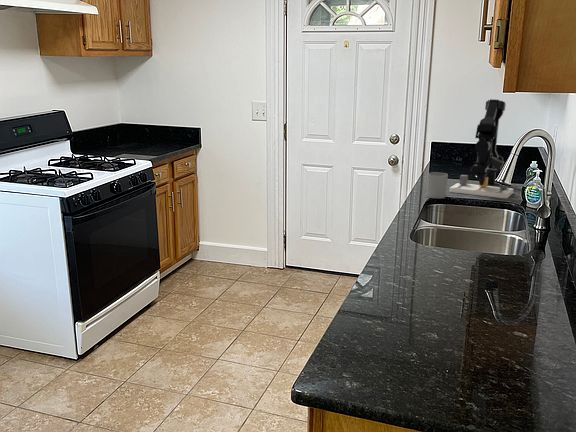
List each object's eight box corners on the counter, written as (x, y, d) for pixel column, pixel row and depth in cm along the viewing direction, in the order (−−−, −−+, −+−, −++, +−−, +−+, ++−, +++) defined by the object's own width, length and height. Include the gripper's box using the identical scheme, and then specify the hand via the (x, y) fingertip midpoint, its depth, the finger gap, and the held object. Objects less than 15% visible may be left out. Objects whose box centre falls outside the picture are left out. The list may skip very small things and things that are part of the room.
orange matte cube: (480, 185, 255) (481, 176, 254) (487, 185, 253) (488, 177, 252) (479, 186, 252) (479, 177, 251) (485, 187, 251) (486, 178, 250)
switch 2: (501, 187, 250) (501, 178, 249) (508, 188, 248) (508, 179, 247) (499, 188, 248) (500, 179, 247) (506, 189, 246) (507, 180, 245)
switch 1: (461, 183, 260) (461, 174, 259) (467, 183, 258) (468, 175, 257) (459, 184, 257) (460, 175, 256) (465, 184, 256) (466, 176, 254)
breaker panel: (457, 186, 263) (458, 182, 262) (513, 193, 250) (513, 188, 249) (449, 191, 252) (449, 187, 252) (506, 198, 239) (507, 193, 239)
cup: (447, 195, 246) (449, 173, 243) (444, 199, 238) (446, 176, 236) (428, 193, 249) (430, 171, 246) (424, 197, 242) (426, 174, 239)
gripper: (498, 154, 234) (495, 190, 238) (508, 149, 249) (504, 183, 253) (471, 152, 240) (468, 188, 244) (483, 147, 255) (480, 181, 259)
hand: (481, 185), depth 250 cm, fingers closed
